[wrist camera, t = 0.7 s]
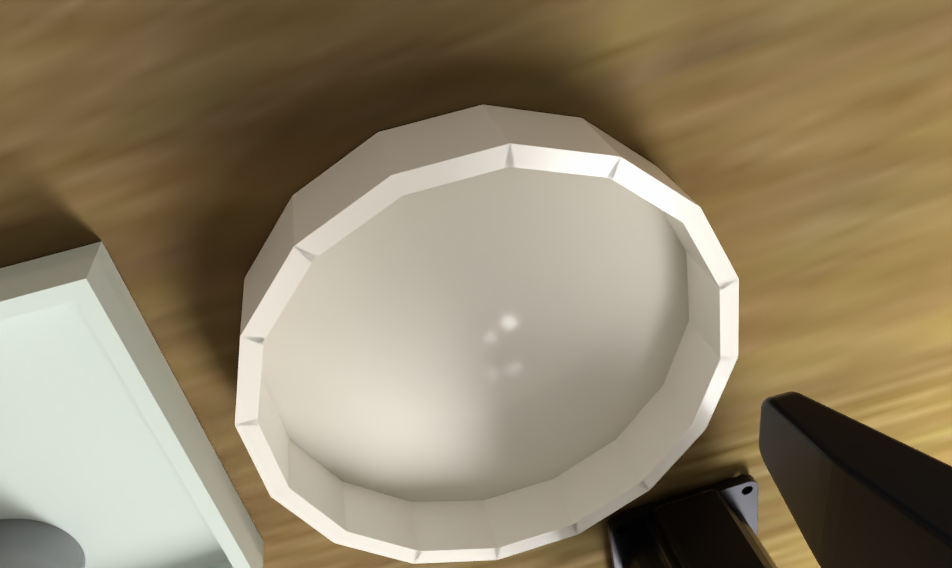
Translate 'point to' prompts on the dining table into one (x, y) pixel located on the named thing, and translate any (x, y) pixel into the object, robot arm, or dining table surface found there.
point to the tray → (106, 426)
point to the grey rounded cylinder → (37, 546)
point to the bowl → (481, 337)
